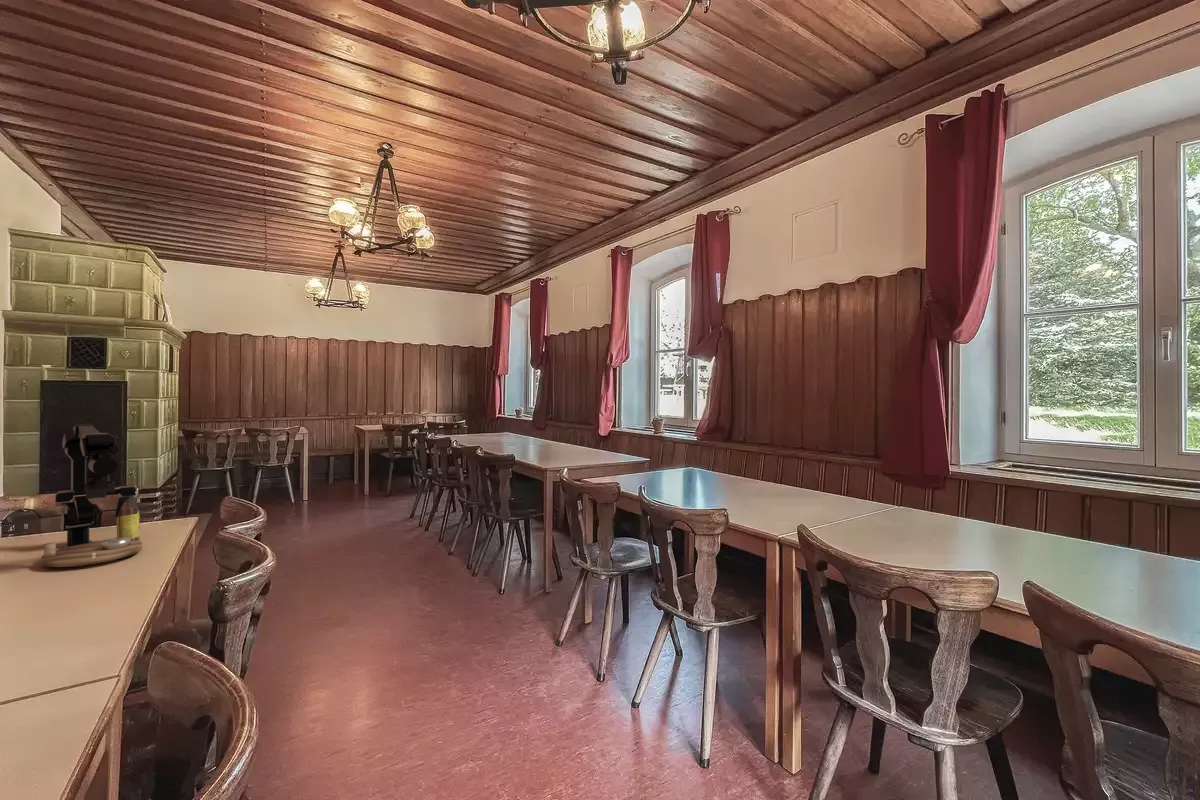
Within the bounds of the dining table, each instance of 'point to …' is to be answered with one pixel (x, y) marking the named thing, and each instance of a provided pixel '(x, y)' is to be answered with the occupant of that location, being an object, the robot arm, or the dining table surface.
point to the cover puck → (115, 543)
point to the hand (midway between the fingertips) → (97, 519)
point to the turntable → (85, 554)
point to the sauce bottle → (128, 520)
